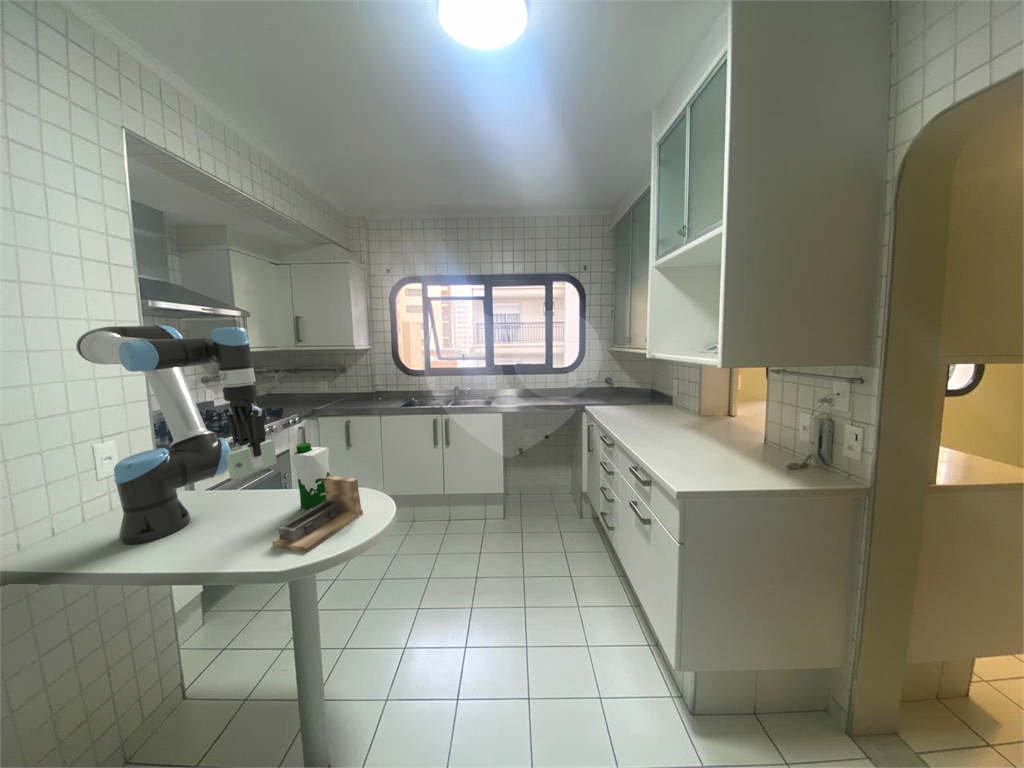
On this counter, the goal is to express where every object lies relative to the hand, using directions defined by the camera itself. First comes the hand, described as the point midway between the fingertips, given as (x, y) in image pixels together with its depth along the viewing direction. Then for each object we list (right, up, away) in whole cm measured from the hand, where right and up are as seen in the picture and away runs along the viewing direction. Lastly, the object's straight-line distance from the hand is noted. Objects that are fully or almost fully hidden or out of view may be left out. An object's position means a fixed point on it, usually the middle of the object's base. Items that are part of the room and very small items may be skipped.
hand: (254, 466), depth 105 cm
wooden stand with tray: (+19, -18, +1) cm, 26 cm away
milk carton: (+10, -16, +17) cm, 25 cm away
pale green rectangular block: (0, -1, 0) cm, 1 cm away
